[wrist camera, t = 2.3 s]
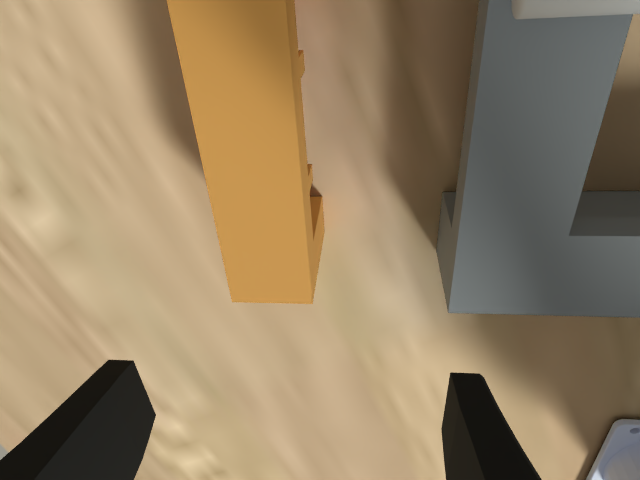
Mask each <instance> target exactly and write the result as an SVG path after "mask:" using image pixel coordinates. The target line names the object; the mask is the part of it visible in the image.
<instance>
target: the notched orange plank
mask: <svg viewBox="0 0 640 480" xmlns="http://www.w3.org/2000/svg"><path fill="white" fill-rule="evenodd" d="M167 5H168V9H169V14H170V19H171V23H172V28H173V32H174V37H175V42H176V46H177V51H178V55H179V60H180V65H181V69H182V74H183V78H184V83H185V88H186V92H187V97H188V101H189V106H190V111H191V115H192V120H193V124H194V129H195V134H196V138H197V143H198V147H199V152H200V157H201V161H202V166H203V170H204V175H205V180H206V184H207V189H208V193H209V198H210V203H211V207H212V212H213V216H214V221H215V225H216V230H217V235H218V239H219V244H220V248H221V253H222V258H223V262H224V267H225V271H226V276H227V281H228V285H229V290H230V294H231V299H232V302H253V303H297V304H313V297H314V291H315V285H316V279H317V273H318V267H319V261H320V255H321V249H322V243H323V237H324V218H323V202H322V197H310V189H311V185H312V181H313V176H312V164H307V154H306V142H305V129H304V117H303V104H302V92H301V77H302V75H303V73H304V71H305V67H304V54H303V50H299V51H298V42H297V29H296V17H295V4H294V0H167Z"/></svg>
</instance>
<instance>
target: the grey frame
mask: <svg viewBox="0 0 640 480" xmlns="http://www.w3.org/2000/svg"><path fill="white" fill-rule="evenodd" d="M633 14H640V0H479V6H478V15H477V23H476V31H475V40H474V48H473V56H472V65H471V73H470V81H469V90H468V98H467V107H466V115H465V123H464V132H463V140H462V148H461V157H460V165H459V173H458V182H457V190H456V192H442V202H441V212H440V222H439V232H438V241H437V257H438V262H439V267H440V272H441V278H442V283H443V288H444V293H445V299H446V304H447V309H448V313H472V314H514V315H555V316H597V317H639V318H640V191H582V188H583V185H584V182H585V178H586V175H587V171H588V168H589V164H590V161H591V157H592V154H593V151H594V147H595V144H596V140H597V137H598V133H599V130H600V126H601V123H602V120H603V116H604V113H605V109H606V106H607V102H608V99H609V95H610V92H611V88H612V85H613V82H614V78H615V75H616V71H617V68H618V64H619V61H620V57H621V54H622V51H623V47H624V44H625V40H626V37H627V33H628V30H629V26H630V23H631V20H632V16H633Z"/></svg>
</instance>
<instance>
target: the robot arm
mask: <svg viewBox="0 0 640 480" xmlns="http://www.w3.org/2000/svg"><path fill="white" fill-rule="evenodd" d="M155 416H156V414H155V412H154V409H153V407H152V405H151V402H150V400H149V397H148V395H147V392H146V390H145V388H144V385H143V383H142V380H141V378H140V376H139V373H138V371H137V368H136V366H135V363H134V361H127V360H108V361H107V362H106V363H105V364H104V365H103V366H102V367H100V368H99V369H98V370H97V371H96V372H95V373H94V374H93V375H92V376H91V377H90V378H89V379H88V380H87V381H86V382H85V383H84V384H82V385H81V386H80V387H79V388H78V389H77V390H76V391H75V392H74V393H73V394H72V395H71V396H70V397H69V398H68V399H67V400H66V401H65V402H64V403H63V404H61V405H60V406H59V407H58V408H57V409H56V410H55V411H54V412H53V413H52V414H51V415H50V416H49V417H48V418H47V419H46V420H44V421H43V422H42V423H41V424H40V425H39V426H38V427H37V428H36V429H35V430H34V431H33V432H31V433H30V434H29V435H28V436H27V437H26V438H25V439H24V440H23V441H22V442H21V443H20V444H18V445H17V446H16V447H15V448H14V449H13V450H12V451H10V452H9V453H8V454H7V455H6V456H5V457H3V458H2V459H1V460H0V480H134V478H135V475H136V473H137V471H138V468H139V466H140V464H141V461H142V459H143V456H144V453H145V450H146V446H147V443H148V440H149V437H150V433H151V430H152V427H153V423H154V420H155ZM442 440H443V452H444V462H445V472H446V480H541V478H540V476H539V475H538V473H537V472H536V470H535V468H534V467H533V465H532V464H531V462H530V460H529V459H528V457H527V456H526V454H525V452H524V451H523V449H522V447H521V446H520V444H519V442H518V441H517V439H516V437H515V435H514V434H513V432H512V430H511V428H510V427H509V425H508V423H507V421H506V420H505V418H504V416H503V414H502V412H501V410H500V409H499V407H498V405H497V403H496V401H495V399H494V397H493V395H492V393H491V391H490V389H489V387H488V385H487V383H486V381H485V379H484V377H483V376H482V375H480V374H474V373H450V378H449V385H448V391H447V398H446V404H445V411H444V417H443V424H442ZM586 480H640V420H635V419H620V420H617V421H615V422H614V423H613V425H612V427H611V429H610V431H609V433H608V435H607V437H606V439H605V441H604V444H603V446H602V448H601V450H600V452H599V454H598V456H597V458H596V460H595V462H594V464H593V466H592V468H591V470H590V472H589V474H588V476H587V478H586Z"/></svg>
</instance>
